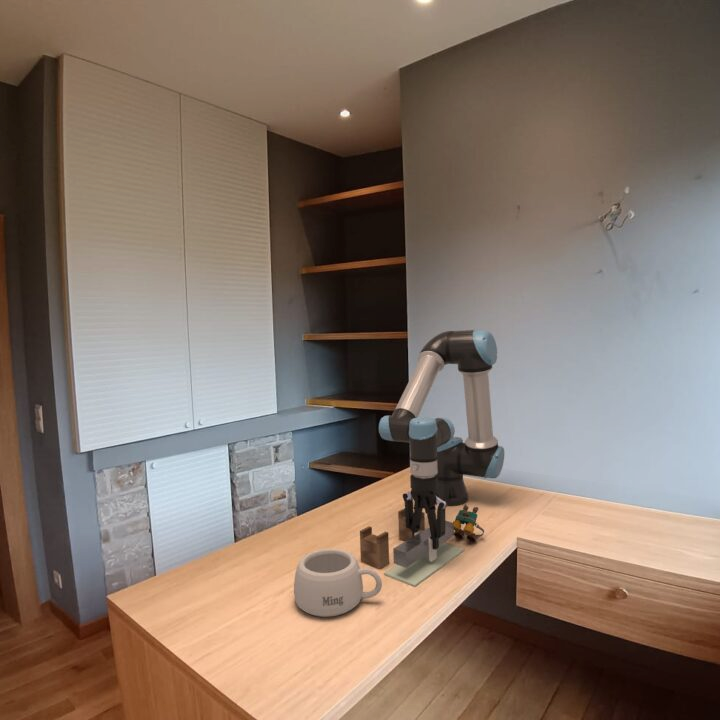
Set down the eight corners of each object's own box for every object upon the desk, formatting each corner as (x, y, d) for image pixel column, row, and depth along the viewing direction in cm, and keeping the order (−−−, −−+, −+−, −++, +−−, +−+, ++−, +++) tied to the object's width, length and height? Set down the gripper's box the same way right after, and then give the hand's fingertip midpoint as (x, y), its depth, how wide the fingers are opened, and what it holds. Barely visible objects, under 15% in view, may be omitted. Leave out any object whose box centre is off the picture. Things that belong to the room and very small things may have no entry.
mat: (384, 574, 128) (383, 572, 128) (434, 541, 147) (434, 540, 146) (415, 587, 121) (415, 585, 121) (464, 550, 140) (464, 549, 140)
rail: (393, 563, 126) (393, 548, 126) (442, 532, 144) (441, 519, 144) (406, 568, 123) (405, 552, 123) (453, 536, 141) (453, 522, 141)
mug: (284, 618, 110) (283, 576, 109) (305, 580, 126) (303, 543, 125) (377, 625, 106) (376, 581, 105) (386, 585, 122) (385, 547, 122)
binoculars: (453, 542, 150) (444, 522, 146) (463, 519, 156) (455, 498, 151) (481, 550, 145) (473, 529, 140) (491, 525, 150) (484, 504, 146)
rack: (360, 562, 135) (359, 530, 135) (406, 535, 152) (405, 507, 151) (380, 569, 131) (379, 537, 130) (425, 541, 147) (424, 512, 146)
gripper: (390, 472, 135) (393, 553, 137) (443, 483, 124) (445, 571, 125) (406, 466, 141) (408, 544, 142) (458, 476, 130) (459, 560, 131)
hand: (425, 556), depth 134 cm, fingers closed on rail, 4 cm apart
